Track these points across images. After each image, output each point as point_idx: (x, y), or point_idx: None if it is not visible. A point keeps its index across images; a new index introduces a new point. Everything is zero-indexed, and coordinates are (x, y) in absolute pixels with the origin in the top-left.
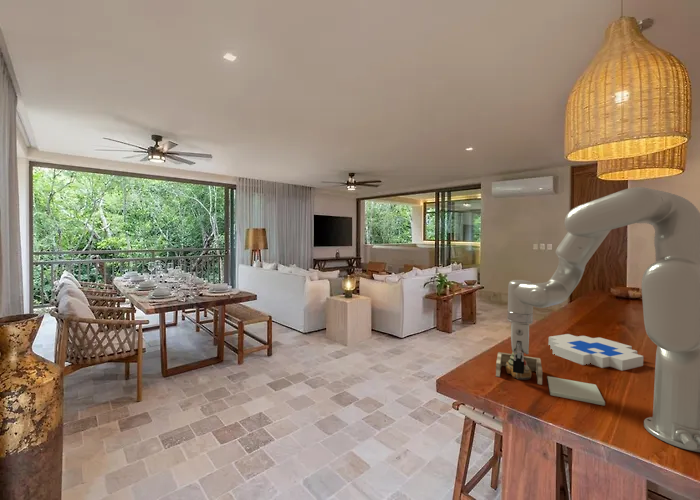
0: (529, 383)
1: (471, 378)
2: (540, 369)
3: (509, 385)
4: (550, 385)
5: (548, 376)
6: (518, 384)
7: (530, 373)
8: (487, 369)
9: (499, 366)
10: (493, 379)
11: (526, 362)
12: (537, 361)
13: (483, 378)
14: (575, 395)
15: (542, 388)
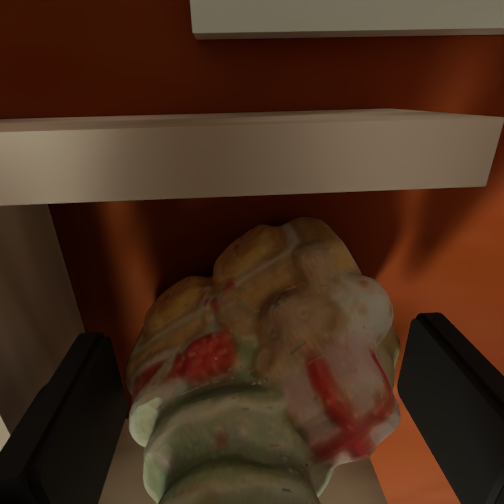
0: (394, 219)
1: (430, 499)
2: (445, 147)
3: (478, 342)
4: (496, 10)
5: (196, 15)
6: (443, 293)
7: (340, 241)
8: None
9: (379, 488)
10: (405, 423)
11: (368, 367)
12: (41, 192)
13: (409, 462)
14: None
15: (478, 105)
